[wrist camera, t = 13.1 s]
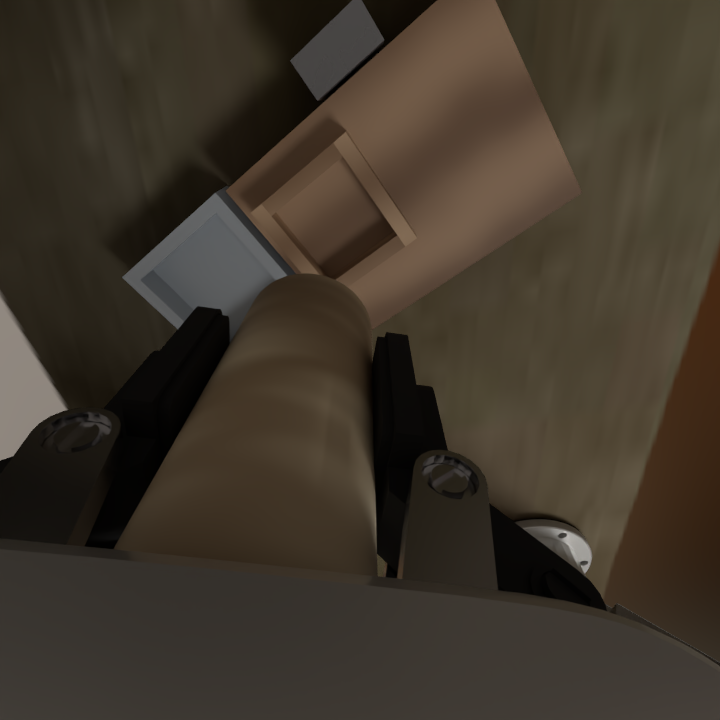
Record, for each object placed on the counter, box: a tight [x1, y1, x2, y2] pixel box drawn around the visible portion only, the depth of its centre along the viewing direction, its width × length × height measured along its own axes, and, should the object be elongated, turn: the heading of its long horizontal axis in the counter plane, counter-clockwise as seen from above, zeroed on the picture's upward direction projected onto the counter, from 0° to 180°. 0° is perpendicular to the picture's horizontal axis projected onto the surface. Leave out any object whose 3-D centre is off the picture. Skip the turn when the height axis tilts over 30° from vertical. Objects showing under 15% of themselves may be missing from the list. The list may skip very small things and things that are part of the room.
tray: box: [122, 185, 296, 342], centre depth 29 cm, size 9×9×2 cm
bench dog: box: [290, 0, 384, 101], centre depth 22 cm, size 2×4×4 cm, turn 127°
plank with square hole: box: [226, 0, 582, 330], centre depth 25 cm, size 12×16×4 cm
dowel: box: [114, 273, 377, 576], centre depth 9 cm, size 4×4×9 cm
